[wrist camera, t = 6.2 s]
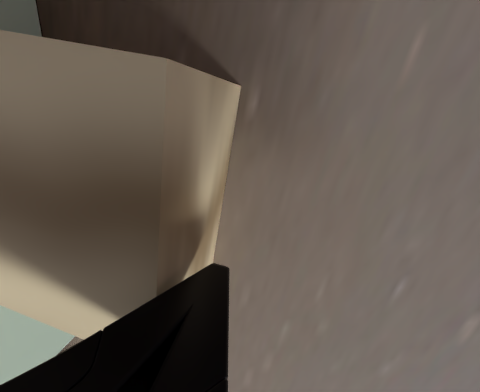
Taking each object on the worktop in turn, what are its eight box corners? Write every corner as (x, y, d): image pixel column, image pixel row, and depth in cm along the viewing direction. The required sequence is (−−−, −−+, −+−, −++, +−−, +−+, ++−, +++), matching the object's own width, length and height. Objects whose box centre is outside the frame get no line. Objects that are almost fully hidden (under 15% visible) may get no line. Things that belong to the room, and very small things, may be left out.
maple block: (212, 264, 11) (153, 367, 7) (75, 220, 13) (-53, 283, 8) (241, 86, 8) (167, 58, 4) (54, 52, 10) (-171, 0, 5)
